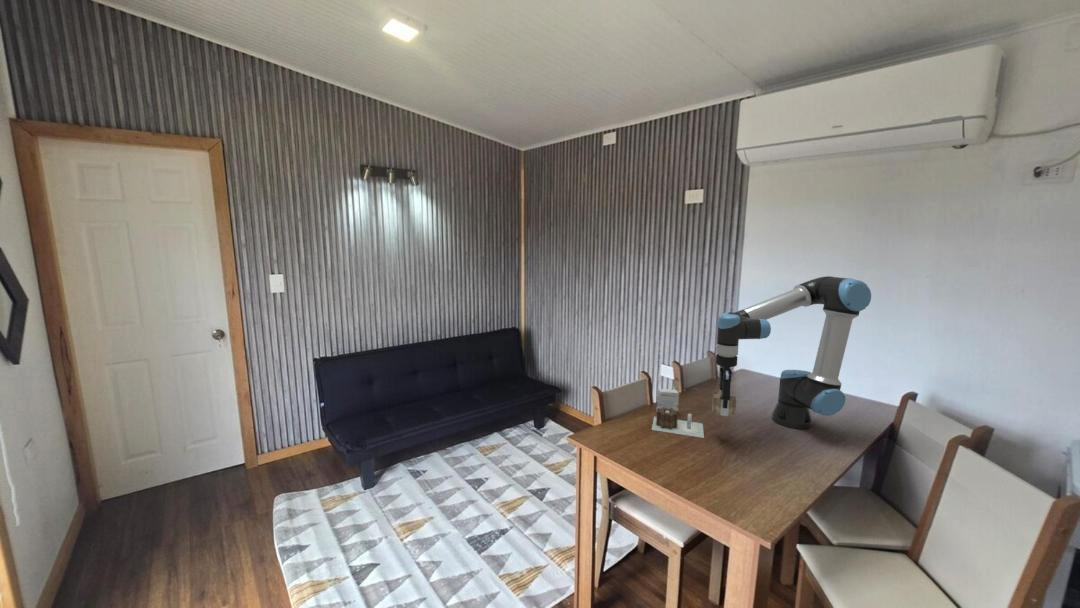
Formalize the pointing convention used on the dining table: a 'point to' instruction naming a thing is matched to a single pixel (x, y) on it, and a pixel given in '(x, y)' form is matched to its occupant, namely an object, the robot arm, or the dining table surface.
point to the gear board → (682, 427)
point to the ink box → (668, 399)
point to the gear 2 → (717, 404)
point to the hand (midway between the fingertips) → (723, 410)
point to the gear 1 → (667, 418)
